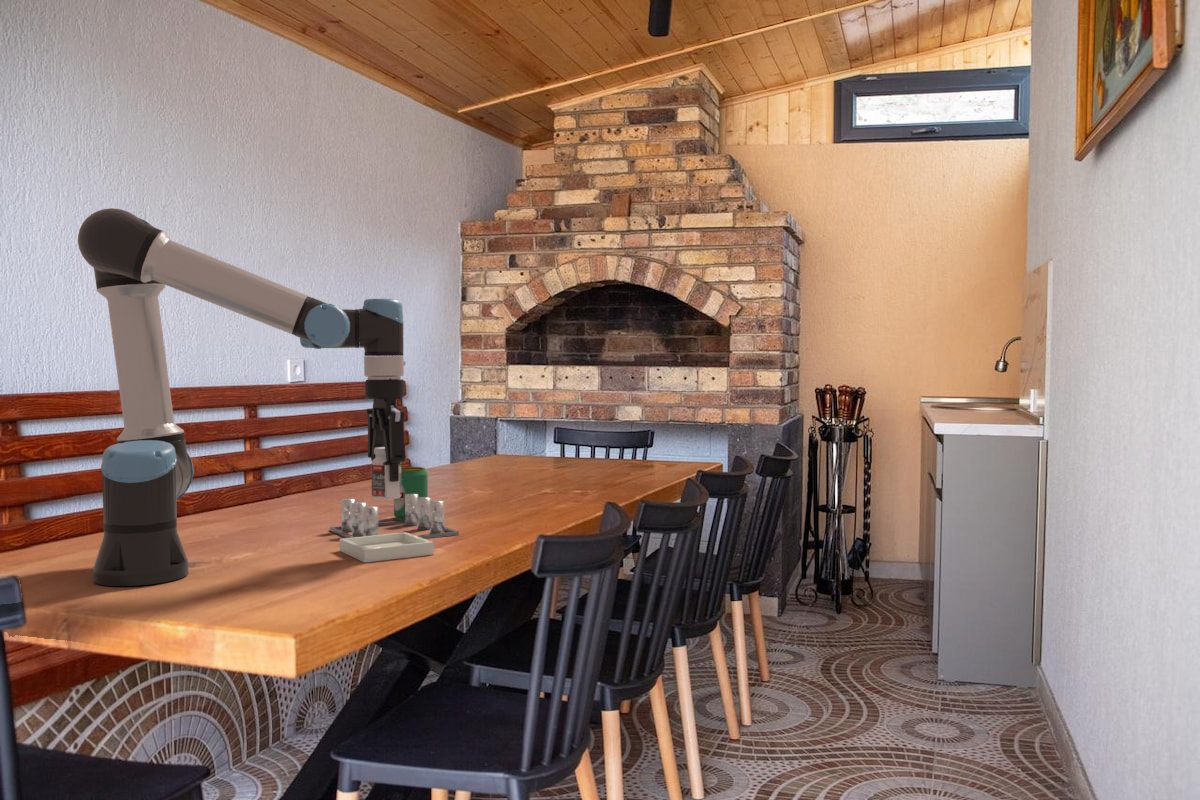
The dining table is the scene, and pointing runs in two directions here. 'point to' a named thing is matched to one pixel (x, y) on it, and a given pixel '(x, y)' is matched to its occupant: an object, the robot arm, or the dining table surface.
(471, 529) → the dining table surface
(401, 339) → the robot arm
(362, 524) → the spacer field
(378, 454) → the pill bottle
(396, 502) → the beverage can
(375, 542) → the dish
